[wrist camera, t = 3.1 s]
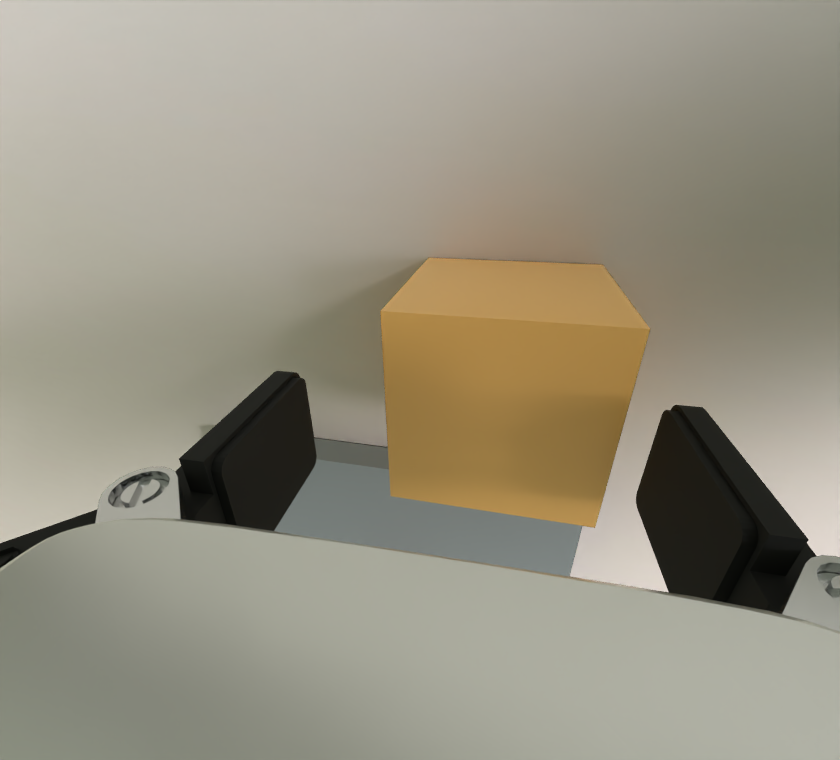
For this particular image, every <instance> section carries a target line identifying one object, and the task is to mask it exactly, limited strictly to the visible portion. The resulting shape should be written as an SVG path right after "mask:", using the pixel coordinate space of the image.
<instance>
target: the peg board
mask: <svg viewBox="0 0 840 760" xmlns="http://www.w3.org/2000/svg"><path fill="white" fill-rule="evenodd" d="M314 441H315V448H316V455H317V458H316V464H315V466H314V468H313V470H312V472H311V473H310V475H309V476H308V478H307V479H306V481H305V483H304V484H303V486H302V487H301V489H300V491H299V492H298V494H297V495H296V497H295V499H294V500H293V502H292V503H291V505H290V506H289V508H288V510H287V511H286V513H285V514H284V516H283V518H282V519H281V521H280V522H279V524H278V526H277V527H276V529H275V530H274V531H276V532H283V533H290V534H296V535H303V536H310V537H317V538H323V539H330V540H337V541H344V542H350V543H357V544H364V545H371V546H377V547H384V548H390V549H397V550H403V551H410V552H416V553H423V554H429V555H436V556H442V557H449V558H455V559H462V560H468V561H475V562H481V563H488V564H494V565H500V566H507V567H513V568H519V569H526V570H532V571H538V572H544V573H551V574H557V575H563V576H570V572H571V568H572V564H573V560H574V557H575V553H576V549H577V545H578V541H579V537H580V533H581V529H582V526H581V525H574V524H568V523H561V522H555V521H548V520H542V519H535V518H529V517H522V516H516V515H509V514H503V513H496V512H490V511H483V510H477V509H470V508H464V507H457V506H451V505H444V504H438V503H431V502H425V501H419V500H412V499H406V498H399V497H393V496H391V495H390V477H389V459H388V448H387V447H379V446H371V445H364V444H356V443H349V442H341V441H333V440H326V439H318V438H314Z"/></svg>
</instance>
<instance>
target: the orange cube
mask: <svg viewBox="0 0 840 760" xmlns="http://www.w3.org/2000/svg"><path fill="white" fill-rule="evenodd" d="M380 313H381V332H382V350H383V368H384V386H385V404H386V422H387V441H388V459H389V477H390V495H391V496H393V497H399V498H406V499H412V500H419V501H425V502H431V503H438V504H444V505H451V506H457V507H464V508H470V509H477V510H483V511H490V512H496V513H503V514H509V515H516V516H522V517H529V518H535V519H542V520H548V521H555V522H561V523H568V524H574V525H581V526H587V527H594V528H595V526H596V522H597V519H598V515H599V511H600V508H601V504H602V501H603V497H604V493H605V490H606V486H607V483H608V479H609V475H610V472H611V468H612V465H613V461H614V457H615V454H616V450H617V447H618V443H619V439H620V436H621V432H622V429H623V425H624V422H625V418H626V414H627V411H628V407H629V404H630V400H631V396H632V393H633V389H634V386H635V382H636V378H637V375H638V371H639V368H640V364H641V360H642V357H643V353H644V350H645V346H646V343H647V339H648V335H649V332H650V328H649V327H648V325H647V324H646V323H645V321H644V320H643V318H642V317H641V316H640V314H639V313H638V312H637V310H636V309H635V308H634V306H633V305H632V304H631V302H630V301H629V299H628V298H627V297H626V295H625V294H624V293H623V291H622V290H621V289H620V287H619V286H618V285H617V283H616V282H615V281H614V279H613V278H612V276H611V275H610V274H609V272H608V271H607V270H606V268H605V267H604V266H603V265H601V264H576V263H551V262H527V261H502V260H477V259H452V258H428V259H427V260H426V261H425V262H424V263H423V264H422V265H421V267H420V268H419V269H418V270H417V271H416V272H415V273H414V274H413V275H412V277H411V278H410V279H409V280H408V281H407V282H406V283H405V284H404V285H403V286H402V288H401V289H400V290H399V291H398V292H397V293H396V294H395V295H394V296H393V298H392V299H391V300H390V301H389V302H388V303H387V304H386V305H385V306H384V308H383V309H382V310H381V311H380Z"/></svg>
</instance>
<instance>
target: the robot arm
mask: <svg viewBox="0 0 840 760" xmlns="http://www.w3.org/2000/svg"><path fill="white" fill-rule="evenodd" d="M316 458H317V455H316V448H315V441H314V434H313V428H312V421H311V415H310V408H309V402H308V395H307V389H306V383H305V380H304V379H303V378H300V376H299V374H297V373H294V372H283V371H276V372H274V373H273V374H272V375H271V376H270V377H269V378H268V379H266V380H265V381H264V382H263V383H262V384H261V385H260V386H259V387H258V388H257V389H255V390H254V391H253V392H252V393H251V394H250V395H249V396H248V397H247V398H246V399H244V400H243V401H242V402H241V403H240V404H239V405H238V406H237V407H236V408H235V409H233V410H232V411H231V412H230V413H229V414H228V415H227V416H226V417H225V418H224V419H222V420H221V421H220V422H219V423H218V424H217V425H216V426H215V427H214V428H212V429H211V430H210V431H209V432H208V433H207V434H206V435H205V436H204V437H203V438H201V439H200V440H199V441H198V442H197V443H196V444H195V445H194V446H193V447H192V448H190V449H189V450H188V451H187V452H186V453H185V454H184V455H183V456H182V457H181V458H179V460H180V463H181V467H180V468H179V469H178V470H176V471H173V470H172V469H170V468H166V467H149V468H144V469H140V470H137V471H134V472H132V473H129V474H127V475H125V476H123V477H121V478H119V479H118V480H116V481H115V482H114V483H112V484H111V485H110V486H108V487H107V489H106V490H105V491H104V492H103V493H102V495H101V497H100V500H99V504H98V509H97V510H94V511H92V512H89V513H86V514H83V515H80V516H77V517H74V518H72V519H69V520H66V521H63V522H60V523H57V524H54V525H52V526H49V527H46V528H43V529H40V530H37V531H34V532H32V533H29V534H26V535H23V536H20V537H17V538H14V539H11V540H9V541H6V542H3V543H0V760H840V557H837V556H826V555H820V556H816V555H815V553H814V552H813V551H812V550H811V548H810V547H809V546H808V544H807V541H808V538H807V537H806V536H805V535H804V533H803V532H802V531H801V530H800V528H799V527H798V526H797V525H796V523H795V522H794V521H793V519H792V518H791V517H790V516H789V514H788V513H787V512H786V511H785V509H784V508H783V507H782V506H781V504H780V503H779V502H778V501H777V499H776V498H775V497H774V496H773V494H772V493H771V492H770V491H769V489H768V488H767V487H766V486H765V484H764V483H763V482H762V480H761V479H760V478H759V477H758V475H757V474H756V473H755V472H754V470H753V469H752V468H751V467H750V465H749V464H748V463H747V462H746V460H745V459H744V458H743V457H742V455H741V454H740V453H739V452H738V450H737V449H736V448H735V447H734V445H733V444H732V443H731V442H730V440H729V439H728V438H727V436H726V435H725V434H724V433H723V431H722V430H721V429H720V428H719V426H718V425H717V424H716V423H715V421H714V420H713V419H712V418H711V416H710V415H709V414H708V413H707V411H706V410H705V409H704V408H703V407H693V406H682V405H675V406H673V407H672V409H671V410H665V411H664V412H663V414H662V417H661V420H660V423H659V426H658V429H657V432H656V435H655V438H654V441H653V445H652V448H651V451H650V454H649V457H648V460H647V463H646V466H645V469H644V473H643V476H642V479H641V482H640V485H639V488H638V491H637V496H636V504H637V508H638V511H639V514H640V516H641V519H642V522H643V524H644V527H645V530H646V532H647V535H648V538H649V540H650V543H651V546H652V548H653V551H654V554H655V556H656V559H657V562H658V564H659V567H660V570H661V572H662V575H663V578H664V580H665V583H666V586H667V588H668V591H669V593H668V592H662V591H656V590H650V589H644V588H638V587H632V586H626V585H620V584H613V583H607V582H601V581H595V580H588V579H582V578H576V577H570V576H563V575H557V574H551V573H544V572H538V571H532V570H526V569H519V568H513V567H507V566H500V565H494V564H488V563H481V562H475V561H468V560H462V559H455V558H449V557H442V556H436V555H429V554H423V553H416V552H410V551H403V550H397V549H390V548H384V547H377V546H371V545H364V544H357V543H350V542H344V541H337V540H330V539H323V538H317V537H310V536H303V535H296V534H290V533H283V532H276V531H274V530H275V529H276V527H277V526H278V524H279V522H280V521H281V519H282V518H283V516H284V514H285V513H286V511H287V510H288V508H289V506H290V505H291V503H292V502H293V500H294V499H295V497H296V495H297V494H298V492H299V491H300V489H301V487H302V486H303V484H304V483H305V481H306V479H307V478H308V476H309V475H310V473H311V472H312V470H313V468H314V466H315V464H316Z"/></svg>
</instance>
